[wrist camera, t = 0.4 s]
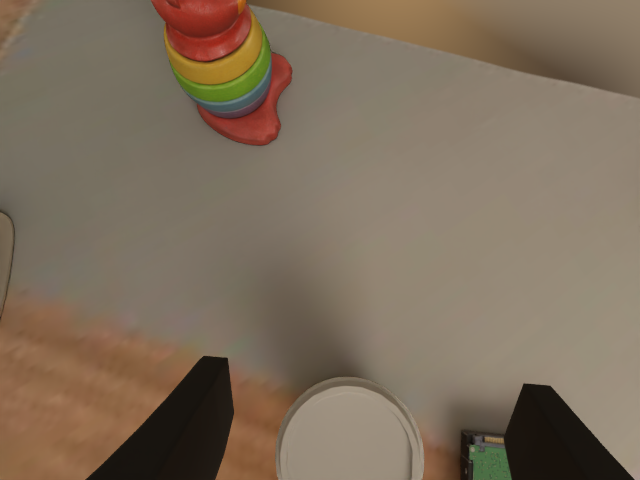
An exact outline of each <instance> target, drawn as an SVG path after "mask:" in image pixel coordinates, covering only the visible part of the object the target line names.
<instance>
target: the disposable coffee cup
mask: <svg viewBox="0 0 640 480" xmlns="http://www.w3.org/2000/svg"><path fill="white" fill-rule="evenodd" d="M275 461H276V469H277V476H278V479H279V480H422V477H423V472H424V451H423V443H422V439H421V436H420V432H419V429H418V426H417V424H416V422H415V421H414V419H413V417H412V415H411V413H410V411H409V410H408V408H407V407H406V406H405V405H404V404H403V403H402V402H401V400H400V399H399V398H398V397H397V396H395V395H394V394H393V393H392V392H391V391H389V390H388V389H387V388H385V387H383V386H381V385H379V384H377V383H375V382H373V381H370V380H366V379H362V378H359V377H338V378H333V379H328V380H325V381H322V382H320V383H318V384H316V385H314V386H312V387H311V388H310V389H308V390H307V391H305V392H304V393H303V394H302V395H301V396H300V397H299V398H298V399H296V401H295V402H294V403H293V405H292V406H291V407H290V409H289V410H288V411H287V413H286V415H285V417H284V419H283V421H282V424H281V426H280V429H279V433H278V437H277V441H276V454H275Z"/></svg>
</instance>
